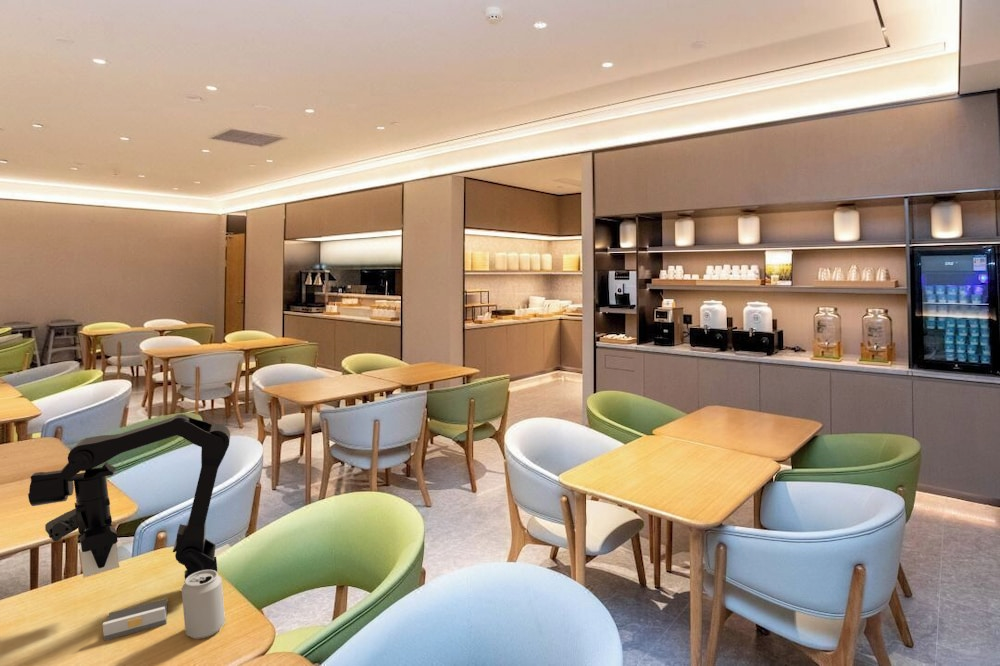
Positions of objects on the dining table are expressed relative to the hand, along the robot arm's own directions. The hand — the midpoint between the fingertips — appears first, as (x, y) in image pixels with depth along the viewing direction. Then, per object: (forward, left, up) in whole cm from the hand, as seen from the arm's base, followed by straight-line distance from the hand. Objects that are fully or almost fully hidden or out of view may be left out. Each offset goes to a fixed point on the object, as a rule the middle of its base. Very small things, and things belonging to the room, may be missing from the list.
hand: (100, 563), depth 126 cm
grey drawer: (-7, +9, -11) cm, 16 cm away
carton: (0, 0, -1) cm, 1 cm away
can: (-20, +20, -11) cm, 30 cm away
